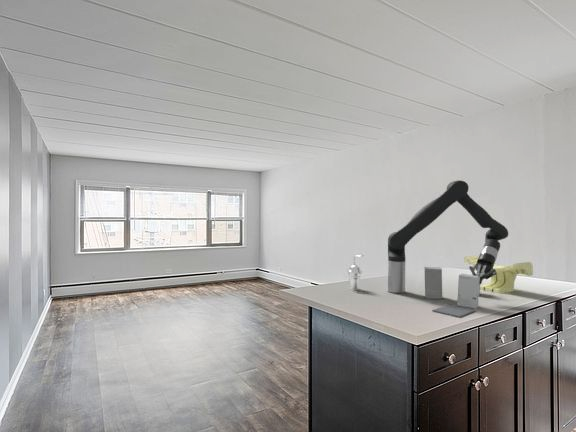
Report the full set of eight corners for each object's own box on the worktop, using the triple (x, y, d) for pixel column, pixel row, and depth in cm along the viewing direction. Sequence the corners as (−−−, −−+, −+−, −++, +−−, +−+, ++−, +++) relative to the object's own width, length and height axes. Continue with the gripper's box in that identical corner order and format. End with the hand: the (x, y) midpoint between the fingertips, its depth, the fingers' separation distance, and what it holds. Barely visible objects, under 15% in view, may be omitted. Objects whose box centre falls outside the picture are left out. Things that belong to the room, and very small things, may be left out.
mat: (449, 305, 164) (449, 304, 164) (476, 311, 155) (476, 309, 155) (432, 311, 154) (432, 310, 154) (459, 317, 145) (459, 316, 145)
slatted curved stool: (532, 293, 191) (532, 261, 190) (516, 296, 183) (516, 263, 183) (480, 283, 217) (480, 255, 217) (464, 286, 210) (464, 256, 209)
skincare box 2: (457, 305, 164) (457, 274, 164) (460, 303, 169) (460, 273, 168) (476, 309, 159) (477, 276, 158) (479, 306, 163) (479, 275, 163)
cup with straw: (352, 286, 205) (352, 253, 205) (365, 289, 199) (365, 254, 199) (344, 289, 199) (344, 254, 199) (357, 291, 193) (357, 255, 193)
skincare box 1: (441, 296, 182) (441, 266, 182) (442, 300, 175) (442, 268, 175) (424, 295, 185) (424, 265, 185) (424, 298, 178) (424, 267, 178)
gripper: (472, 251, 180) (460, 277, 173) (499, 253, 170) (489, 281, 163) (476, 260, 184) (465, 286, 176) (504, 263, 174) (493, 291, 166)
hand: (477, 283), depth 169 cm, fingers closed
